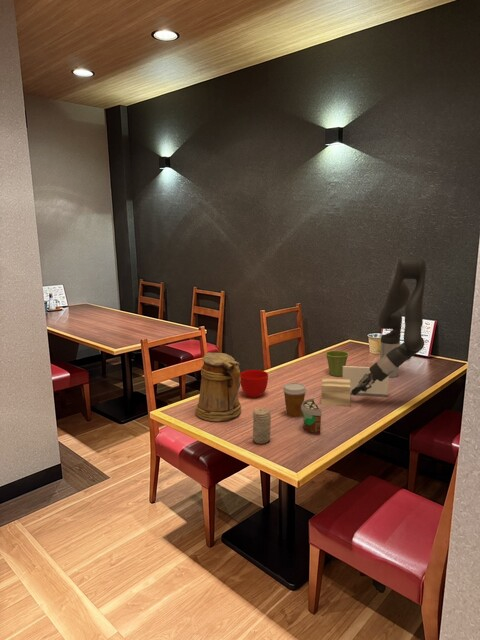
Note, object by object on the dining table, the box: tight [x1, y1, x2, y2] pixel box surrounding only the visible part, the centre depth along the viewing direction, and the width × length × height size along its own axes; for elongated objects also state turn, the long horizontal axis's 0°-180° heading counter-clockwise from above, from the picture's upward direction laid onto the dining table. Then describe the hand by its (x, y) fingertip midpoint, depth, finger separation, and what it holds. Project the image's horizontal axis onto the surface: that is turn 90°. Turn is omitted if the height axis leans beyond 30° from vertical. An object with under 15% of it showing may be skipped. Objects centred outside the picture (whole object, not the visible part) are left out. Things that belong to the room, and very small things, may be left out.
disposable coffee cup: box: [282, 382, 307, 418], centre depth 188 cm, size 10×10×12 cm
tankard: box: [195, 352, 242, 423], centre depth 187 cm, size 18×24×25 cm
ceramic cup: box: [240, 369, 269, 399], centre depth 212 cm, size 13×17×10 cm
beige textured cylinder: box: [252, 407, 272, 444], centre depth 165 cm, size 6×8×12 cm
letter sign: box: [342, 365, 390, 398], centre depth 209 cm, size 6×20×13 cm, turn 77°
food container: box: [301, 398, 322, 435], centre depth 174 cm, size 12×6×10 cm, turn 5°
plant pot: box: [325, 350, 350, 377], centre depth 236 cm, size 12×12×11 cm
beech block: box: [320, 377, 351, 408], centre depth 201 cm, size 10×12×9 cm
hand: (352, 393), depth 200 cm, fingers closed
